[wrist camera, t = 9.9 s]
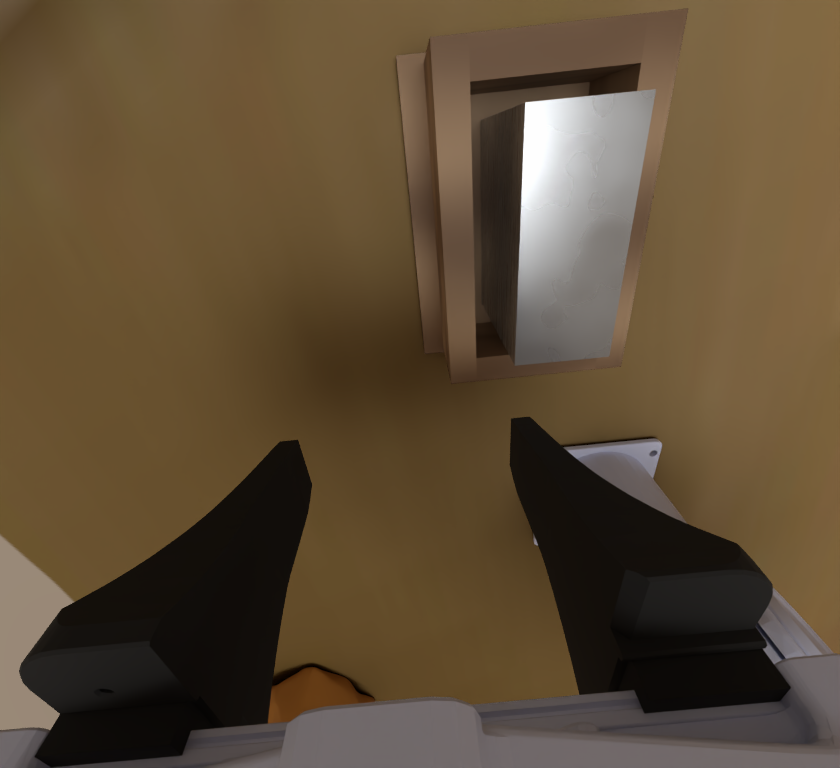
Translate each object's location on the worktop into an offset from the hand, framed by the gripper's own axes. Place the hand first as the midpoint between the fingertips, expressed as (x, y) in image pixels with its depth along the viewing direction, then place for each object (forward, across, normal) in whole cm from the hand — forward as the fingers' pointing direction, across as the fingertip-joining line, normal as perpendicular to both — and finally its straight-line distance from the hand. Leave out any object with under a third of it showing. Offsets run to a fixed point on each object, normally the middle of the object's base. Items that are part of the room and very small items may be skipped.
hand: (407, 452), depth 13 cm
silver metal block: (+9, -6, -6) cm, 12 cm away
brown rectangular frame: (+10, -6, -6) cm, 13 cm away
